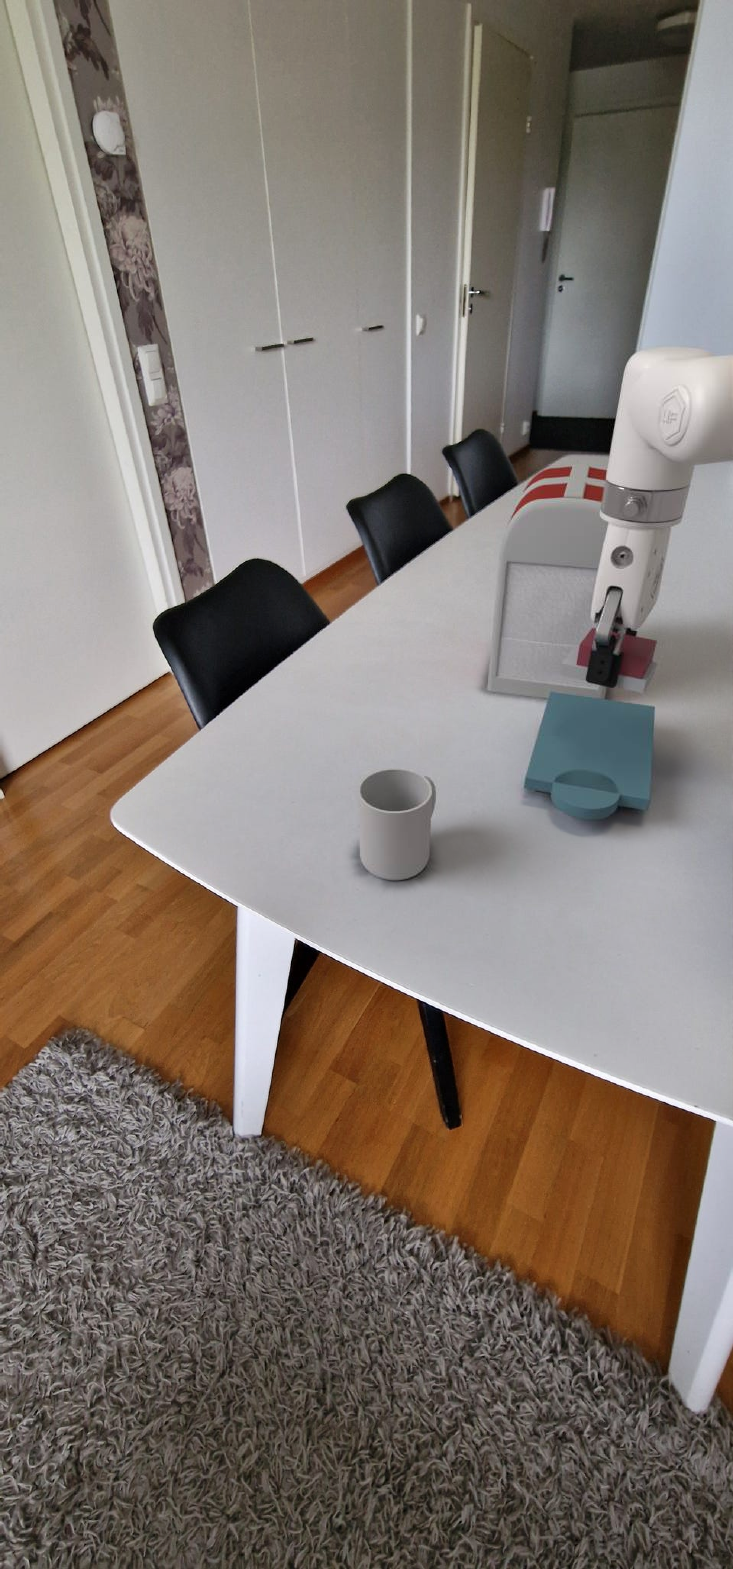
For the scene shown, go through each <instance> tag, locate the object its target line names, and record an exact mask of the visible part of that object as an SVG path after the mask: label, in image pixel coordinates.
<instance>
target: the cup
mask: <svg viewBox="0 0 733 1569" xmlns="http://www.w3.org/2000/svg"><path fill="white" fill-rule="evenodd" d="M356 793H357V816H358V817H357V818H358V820H357V821H358V841H359V842H358V844H359V857H360V861H361V864H362V865H363V867H364V868H365V869H366V870H367V871H368V872H369V873H370V874H372V875H373V876H375V877H377V878H380V879H382V880H387V881H401V880H402V881H403V880H407V879H410V878H413V877H415V876H416V875H418V874H419V873H421V872H422V871H423V870H424V869H425V867H426V866H427V865H428V863H429V860H430V852H431V830H432V829H431V828H432V827H431V826H432V817H433V814H434V811H435V807H436V802H437V801H436V799H437V790H436V786H435V783H434V781H433V780H432V779H431V777H428V776H427V775H423V774H421V773H419V772H417V771H414V770H411V769H409V768H408V769H407V768H401V767H388V768H383V769H378V770H375V771H372V772H371V773H369V774H367V775H365V777H363V778H362V779H361V780H360V782H359V784H358V785H357V791H356Z"/></svg>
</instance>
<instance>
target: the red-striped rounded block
mask: <svg viewBox="0 0 733 1569" xmlns="http://www.w3.org/2000/svg"><path fill="white" fill-rule="evenodd" d="M606 474H607V469H605V468H598V467H594V466H590V464H575V463H573V465H570V466H559V467H557V466H556V467H548V468H545V469H543V470H542V471H539V472H538V473H537V474H536V475H535V476H533V478H532V479H531V480H530V481H529V482H528V483H527V485H526V486H525V488H524V489H523V491H522V494H521V495H520V497H519V498H518V500H517V501H516V504H515V505H514V507H513V510H512V512H511V514H510V516H509V519H508V522H507V526H506V527H505V530H504V533H503V535H502V538H501V543H500V548H499V554H498V555H499V556H498V565H497V575H496V576H497V578H496V588H495V600H494V610H493V620H492V621H493V622H492V633H491V643H490V644H491V645H490V652H489V653H490V655H489V666H488V675H487V676H488V677H487V687H486V690H487V691H488V692H491V693H498V694H499V693H500V694H505V695H516V696H522V697H531V698H540V699H547V700H548V697H549V694H550V692H557V693H564V694H571V695H578V696H585V697H592V698H599V699H606V698H605V697H606V693H607V688H608V687H605V686H601V685H596V684H592V683H588V682H587V681H586V680H581V679H577V678H573V677H568V676H564V675H560V673H561V667H562V663H563V661H564V660H565V659H566V657H567V656H568V655H569V653H570V652H571V651H572V650H573V648H574V647H575V646H576V645H578V646H580V643H581V642H582V641H583V639H584V638H585V637H586V635H587V634H588V633H589V631H590V630H591V629H592V628H595V629H597V625H598V622H597V623H594V622H593V621H592V619H591V607H592V600H593V594H594V589H595V583H596V578H597V573H598V568H599V563H600V558H601V554H602V549H603V543H604V540H605V536H606V532H607V527H608V523H609V522H607V521H605V520H603V519H602V518H601V517H600V509H601V502H602V497H603V491H604V485H605V479H606Z"/></svg>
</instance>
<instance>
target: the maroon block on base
mask: <svg viewBox="0 0 733 1569" xmlns="http://www.w3.org/2000/svg"><path fill="white" fill-rule="evenodd" d="M595 633H596V629H595V628H592V629H591V630H590V631H589V633H588V634H587V635H586V637H585V638H584V639H583V641H582V642H581V643H580V646H578V645H576V646H575V647H574V648H573V650H572V651H571V652H570V653H569V655H568V656H567V657H566V659H565V660H564V661H563V663H562V667H561V673H560V675H564V676H568V677H573V678H577V679H581V680H586V674H587V669H588V664H589V658H590V653H591V648H592V645H593V641H594V637H595ZM612 635H615V637H616V640H617V636H618V633H616V632H612ZM657 642H658V640H656V639H652V638H651V639H650V638H645V637H641V636H637V635H636V636H631V635H626V634H625V637H624V641H623V644H622V648H621V652H623V658H622V662H621V667H620V671H619V676H618V681H617V684H616V686H615V687H614V688H618V689H621V690H626V691H631V692H636V693H638V694H645V692H646V690H647V688H648V687H649V684H650V682H651V680H652V679H653V677H654V675H655V673H656V668H657V663H658V662H657V661H655V660H653V659H654V656H655V651H656V648H657Z"/></svg>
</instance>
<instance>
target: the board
mask: <svg viewBox="0 0 733 1569" xmlns="http://www.w3.org/2000/svg"><path fill="white" fill-rule="evenodd" d="M655 711H656V707H655V705H647V704H640V703H633V702H626V701H621V700H619V701H618V700H611V699H606V698H605V699H599V698H592V697H585V696H578V695H571V694H564V693H557V692H550V694H549V697H548V699H547V701H546V705H545V708H544V711H543V715H542V718H541V722H540V726H539V729H538V732H537V735H536V739H535V742H534V746H533V749H532V753H531V756H530V760H529V762H528V767H527V771H526V773H525V777H524V783H523V788H524V789H526V790H533V791H534V792H538V793H544V794H548V795H549V794H550V798H551V802H552V803H553V805H554V807H556V808H557V809H558V810H559V811H560V812H562V813H564V814H565V815H568V816H570V817H572V818H576V819H581V820H586V821H587V820H588V821H591V820H592V821H593V820H594V821H596V820H603V819H605V818H607V817H610V816H611V815H613V814H614V813H615V812H616V811H617V809H618V807H621V808H626V809H631V810H634V809H636V810H640V811H641V810H642V811H648V809H649V805H650V802H651V791H652V790H651V788H652V769H653V752H654V751H653V750H654V733H655V731H654V730H655V714H656V713H655Z"/></svg>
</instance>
